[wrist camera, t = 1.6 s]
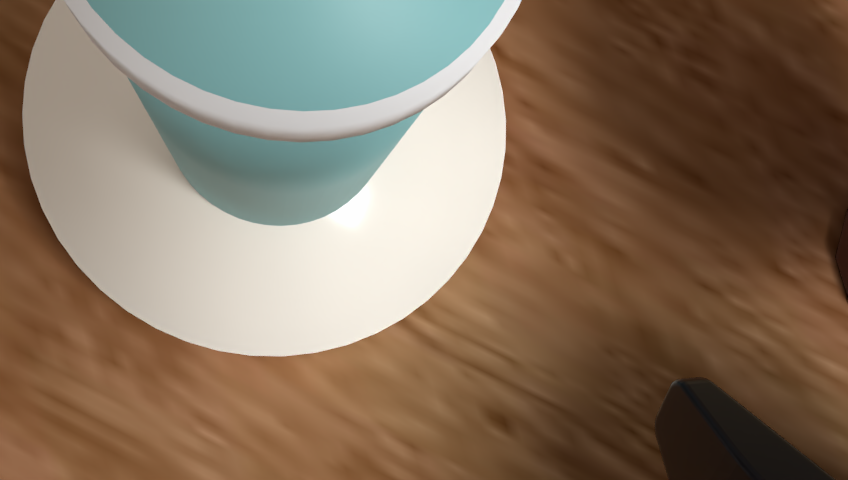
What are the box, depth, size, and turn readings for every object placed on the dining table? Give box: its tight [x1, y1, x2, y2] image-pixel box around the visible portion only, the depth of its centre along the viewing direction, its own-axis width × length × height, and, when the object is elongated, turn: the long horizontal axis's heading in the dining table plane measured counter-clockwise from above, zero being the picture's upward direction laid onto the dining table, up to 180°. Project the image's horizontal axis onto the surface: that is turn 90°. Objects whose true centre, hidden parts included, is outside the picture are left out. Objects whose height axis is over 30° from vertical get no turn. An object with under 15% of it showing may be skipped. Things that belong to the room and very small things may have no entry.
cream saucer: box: [22, 0, 506, 356], centre depth 22 cm, size 13×13×1 cm
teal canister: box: [64, 0, 521, 226], centre depth 15 cm, size 6×6×12 cm
